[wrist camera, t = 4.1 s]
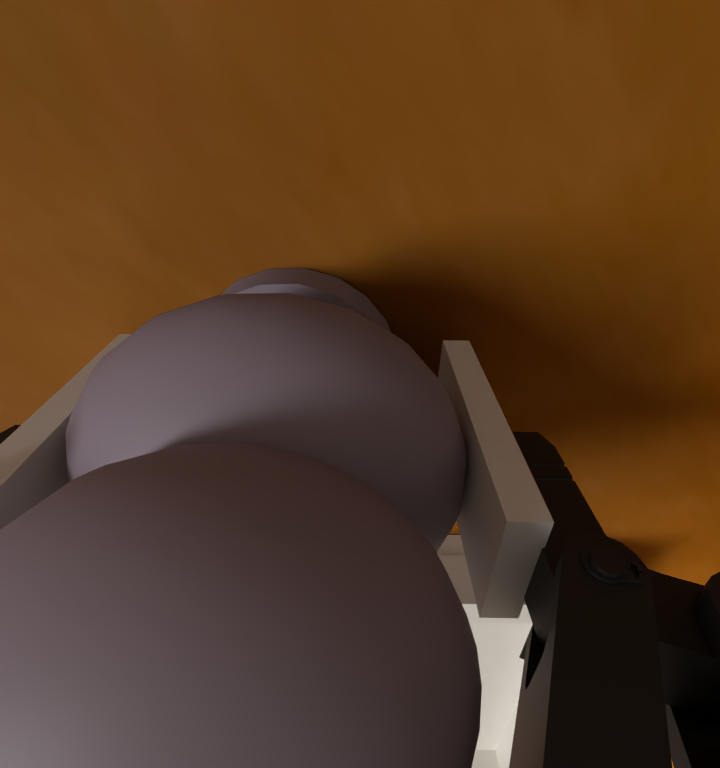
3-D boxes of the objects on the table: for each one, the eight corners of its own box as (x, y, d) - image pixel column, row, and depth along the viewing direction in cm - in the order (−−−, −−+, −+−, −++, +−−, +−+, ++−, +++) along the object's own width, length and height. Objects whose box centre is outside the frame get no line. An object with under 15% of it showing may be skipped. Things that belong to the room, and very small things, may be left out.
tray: (600, 537, 18) (639, 606, 16) (506, 739, 29) (520, 800, 26) (116, 529, 18) (76, 598, 15) (200, 735, 29) (185, 796, 26)
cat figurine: (463, 258, 12) (1011, 1041, 2) (410, 469, 16) (492, 1073, 6) (147, 216, 12) (-1480, 1011, 1) (174, 445, 16) (-173, 1068, 5)
